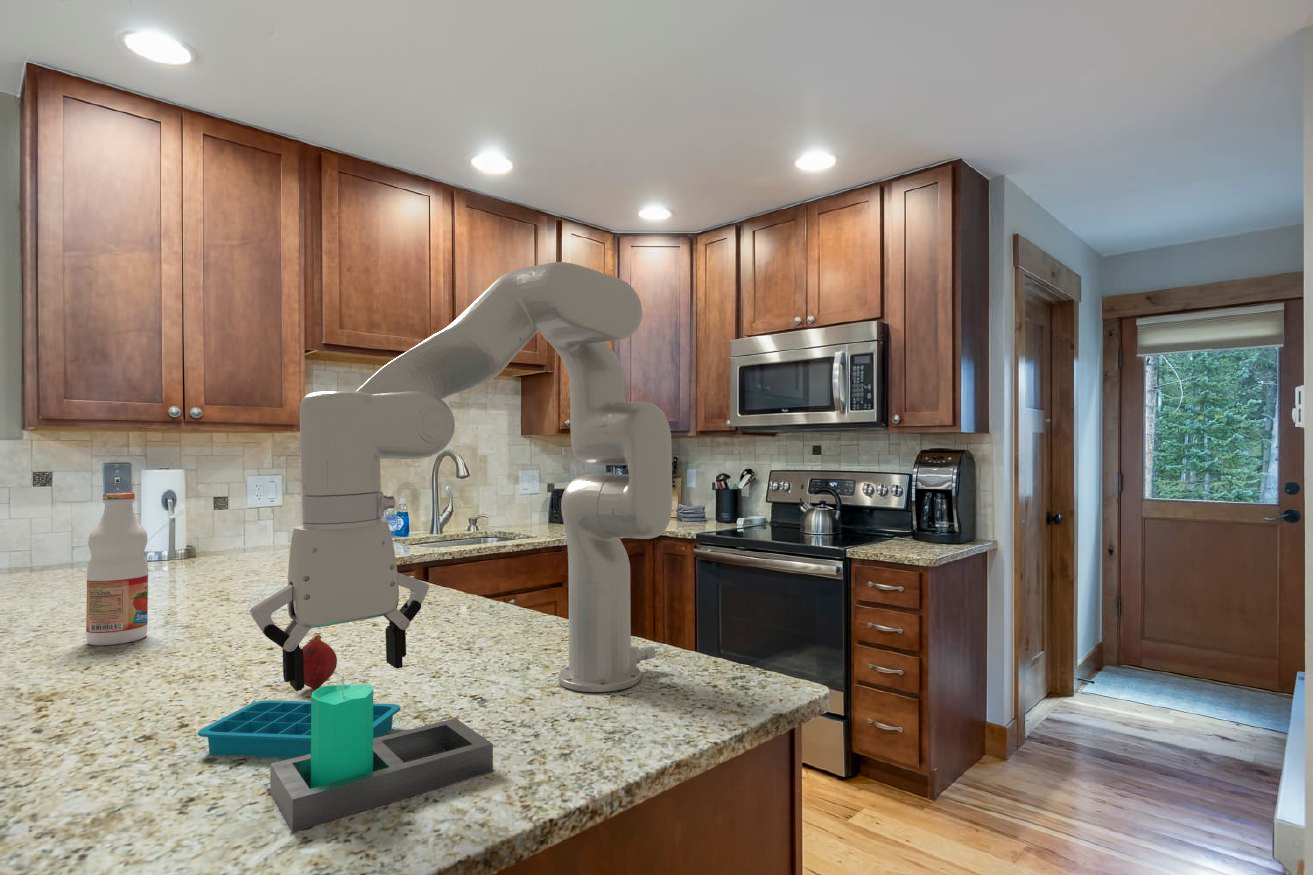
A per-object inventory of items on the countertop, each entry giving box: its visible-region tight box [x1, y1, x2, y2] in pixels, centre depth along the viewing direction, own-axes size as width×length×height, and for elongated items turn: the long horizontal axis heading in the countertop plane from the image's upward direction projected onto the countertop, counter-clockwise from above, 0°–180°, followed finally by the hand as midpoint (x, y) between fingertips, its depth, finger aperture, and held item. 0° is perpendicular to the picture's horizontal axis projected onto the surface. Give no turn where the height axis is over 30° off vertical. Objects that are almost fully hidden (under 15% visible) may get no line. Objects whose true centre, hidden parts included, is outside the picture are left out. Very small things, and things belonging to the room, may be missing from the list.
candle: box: [310, 675, 374, 789], centre depth 74 cm, size 6×6×12 cm
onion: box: [301, 634, 338, 690], centre depth 107 cm, size 6×6×8 cm
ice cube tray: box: [197, 699, 401, 759], centre depth 88 cm, size 12×20×3 cm, turn 84°
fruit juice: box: [85, 492, 149, 646], centre depth 138 cm, size 9×9×28 cm
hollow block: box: [269, 717, 494, 833], centre depth 76 cm, size 20×10×3 cm, turn 129°
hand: (347, 675), depth 74 cm, fingers open, 9 cm apart
